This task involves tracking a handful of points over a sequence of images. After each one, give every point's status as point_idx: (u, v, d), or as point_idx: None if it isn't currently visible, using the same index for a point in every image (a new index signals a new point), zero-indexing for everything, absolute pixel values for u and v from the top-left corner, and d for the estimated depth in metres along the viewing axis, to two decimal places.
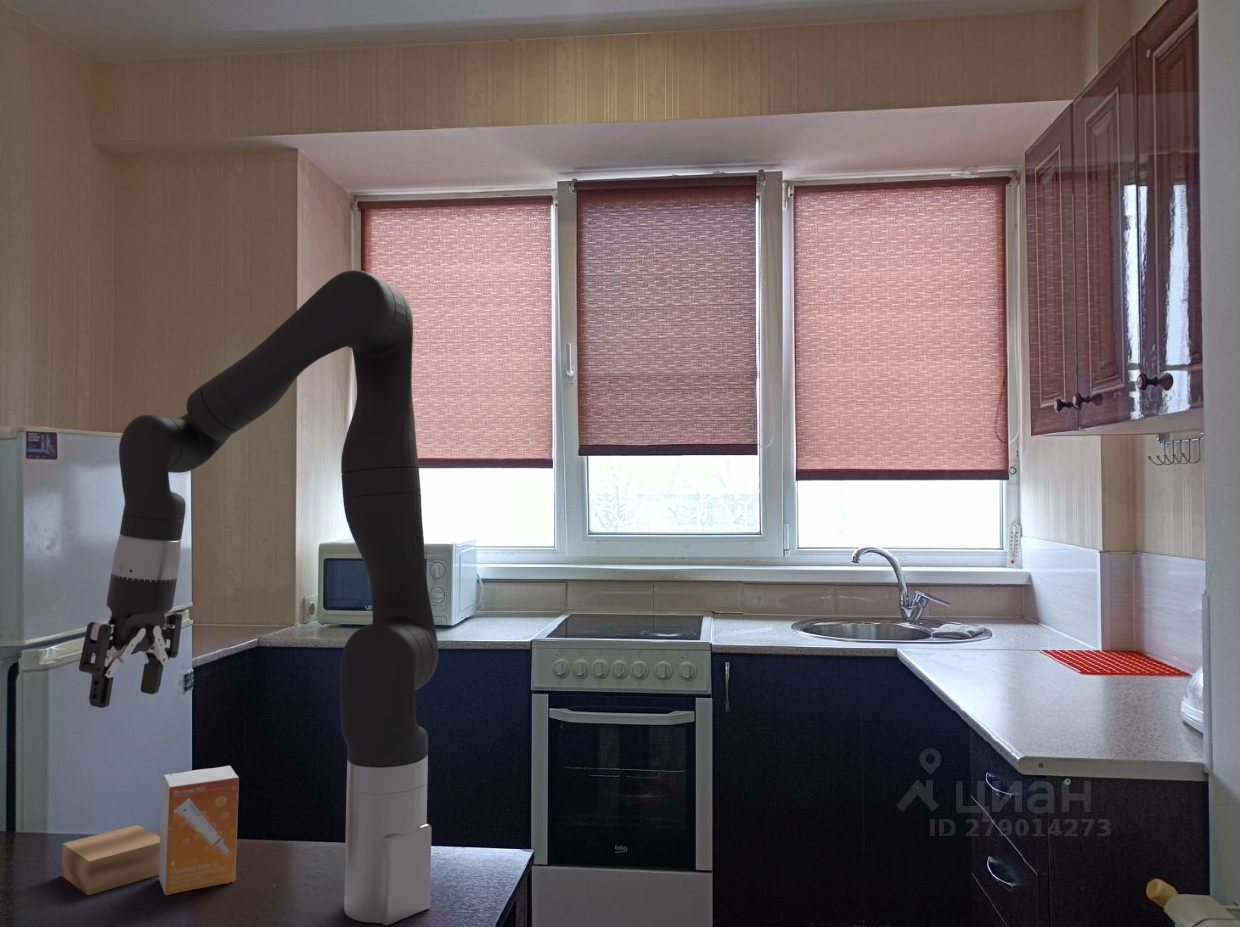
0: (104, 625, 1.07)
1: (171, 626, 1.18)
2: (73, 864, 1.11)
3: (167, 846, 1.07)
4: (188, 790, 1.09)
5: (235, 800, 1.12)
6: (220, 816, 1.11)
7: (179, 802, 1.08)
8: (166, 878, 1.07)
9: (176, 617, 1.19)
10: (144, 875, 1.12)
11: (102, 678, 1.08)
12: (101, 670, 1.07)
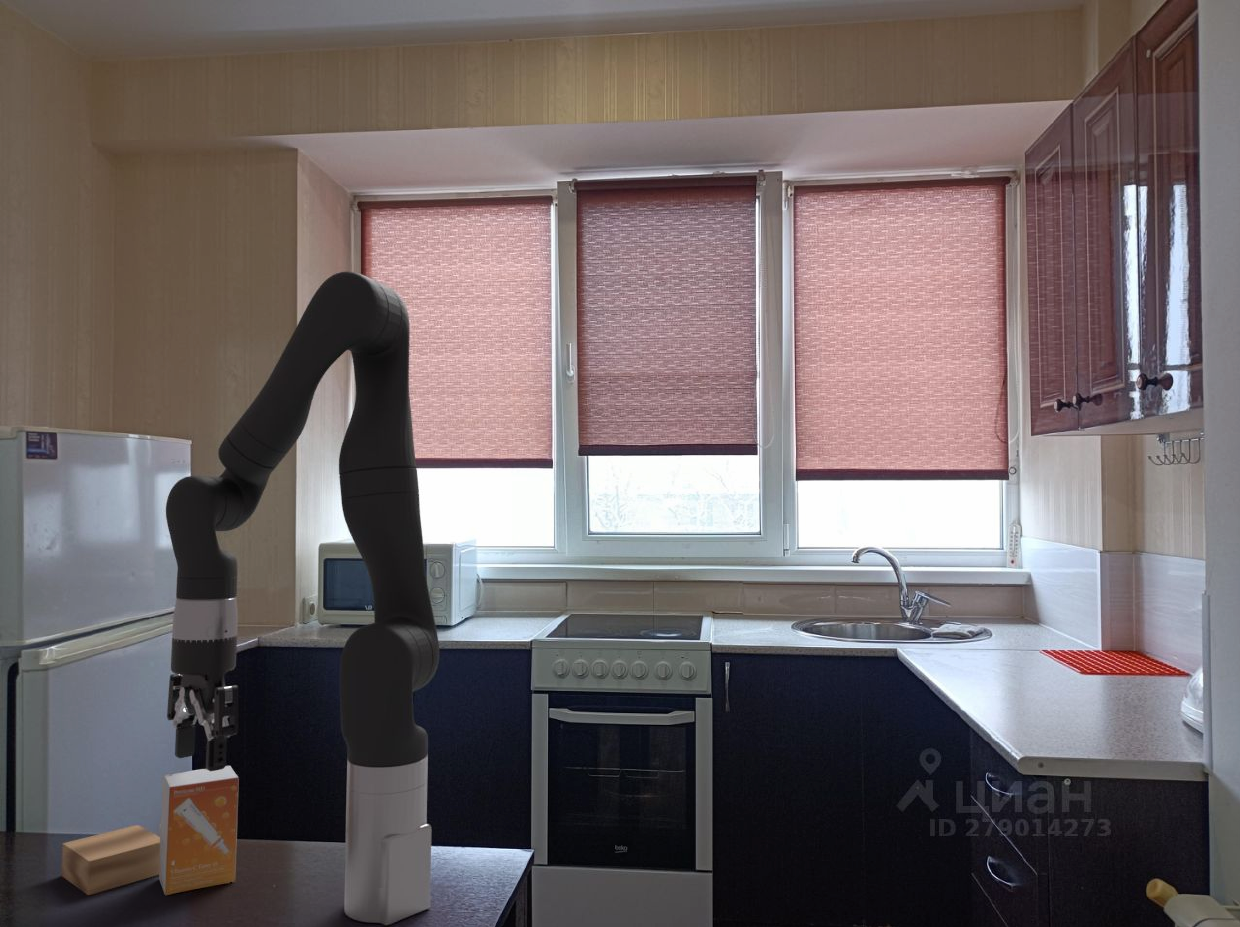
0: (234, 686, 1.10)
1: None
2: (73, 864, 1.11)
3: (167, 846, 1.07)
4: (188, 790, 1.09)
5: (235, 800, 1.12)
6: (220, 816, 1.11)
7: (179, 802, 1.08)
8: (166, 878, 1.07)
9: None
10: (144, 875, 1.12)
11: (226, 739, 1.10)
12: None
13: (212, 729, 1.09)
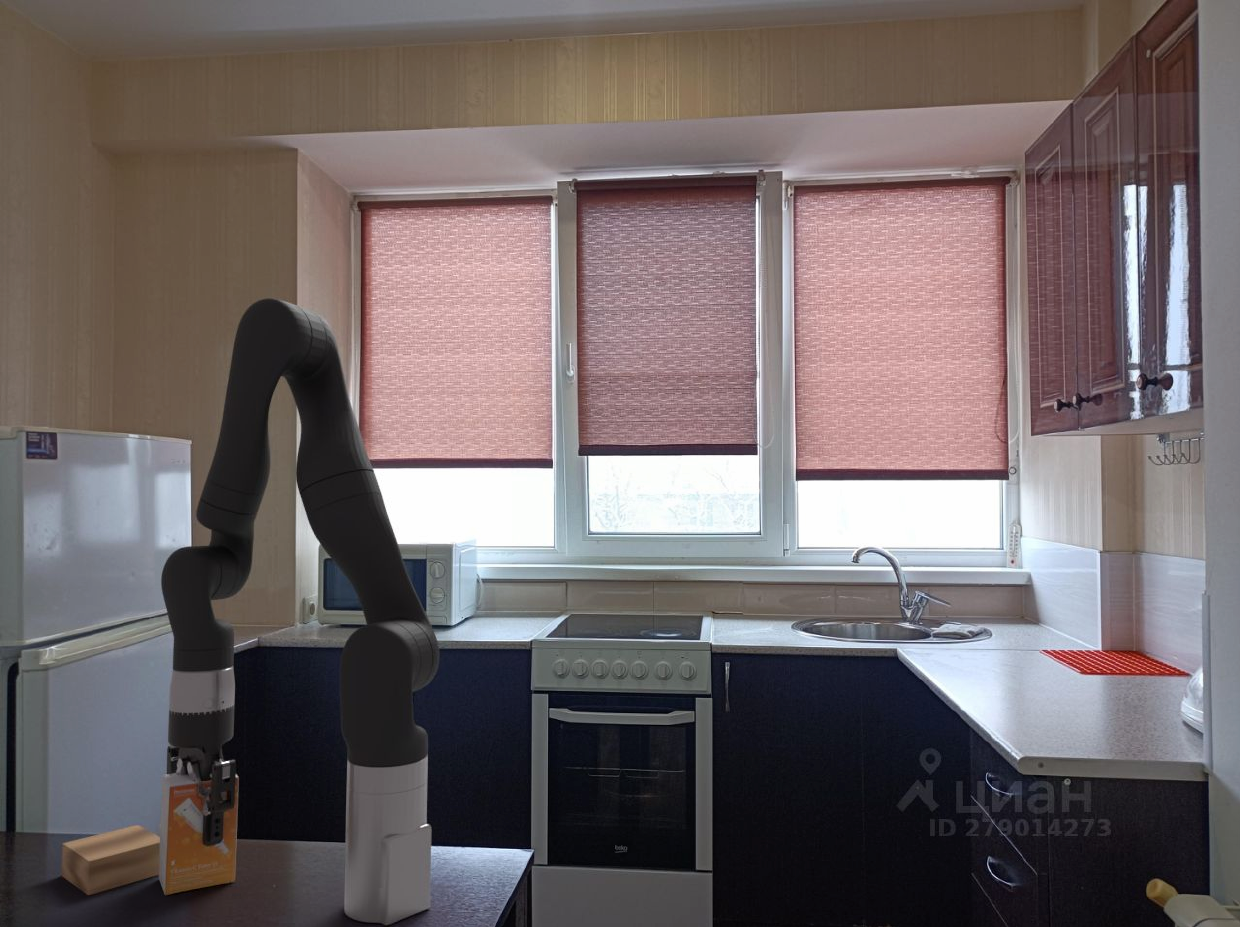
0: (232, 761, 1.09)
1: None
2: (73, 864, 1.11)
3: (167, 846, 1.07)
4: (188, 789, 1.09)
5: (235, 800, 1.12)
6: None
7: (179, 802, 1.08)
8: (166, 878, 1.07)
9: None
10: (144, 875, 1.12)
11: (222, 813, 1.10)
12: None
13: (209, 804, 1.09)
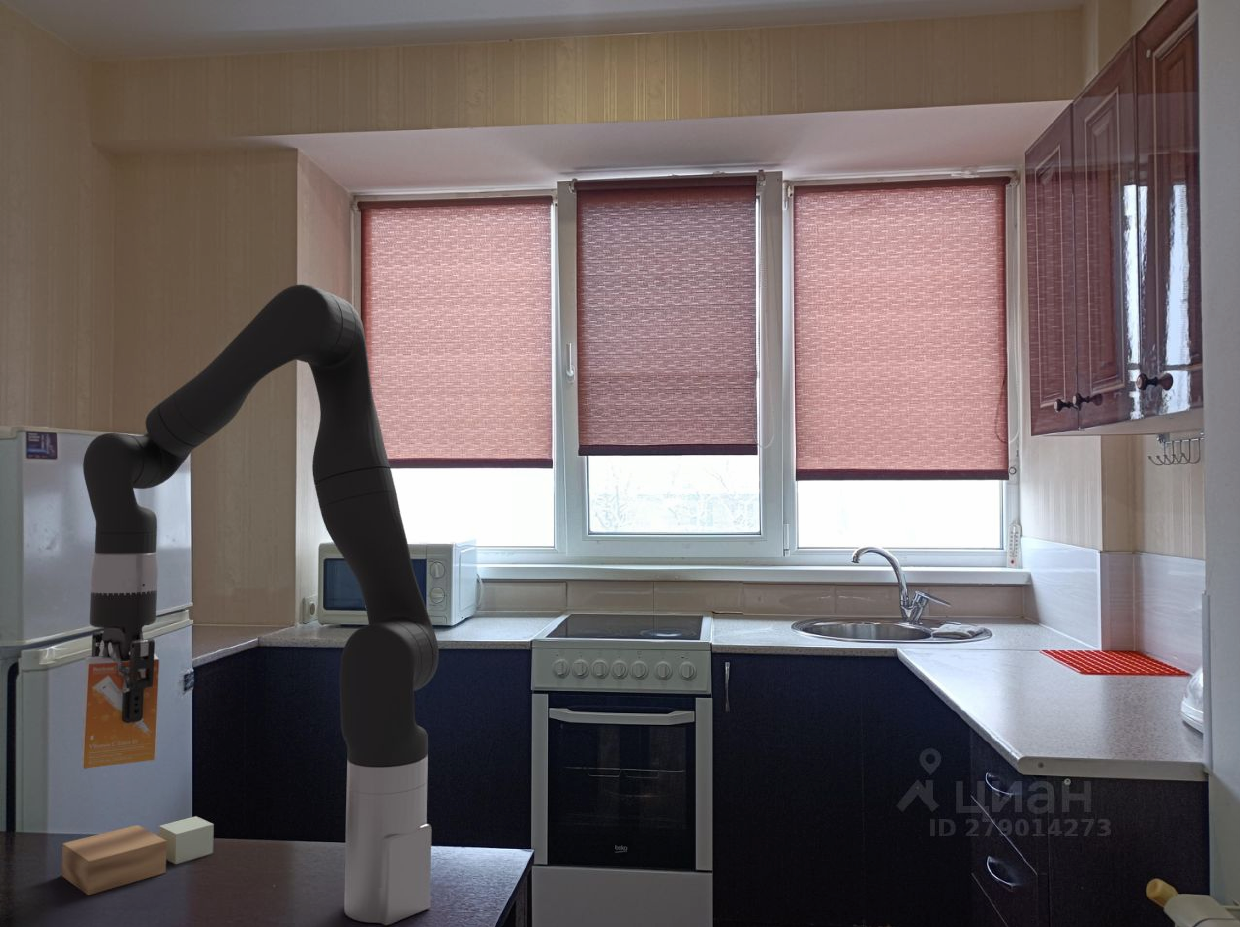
0: (150, 640, 1.12)
1: None
2: (73, 864, 1.11)
3: (86, 721, 1.10)
4: (107, 668, 1.11)
5: (155, 681, 1.14)
6: None
7: (98, 679, 1.11)
8: (85, 752, 1.10)
9: None
10: (144, 875, 1.12)
11: (142, 691, 1.12)
12: None
13: (128, 682, 1.11)
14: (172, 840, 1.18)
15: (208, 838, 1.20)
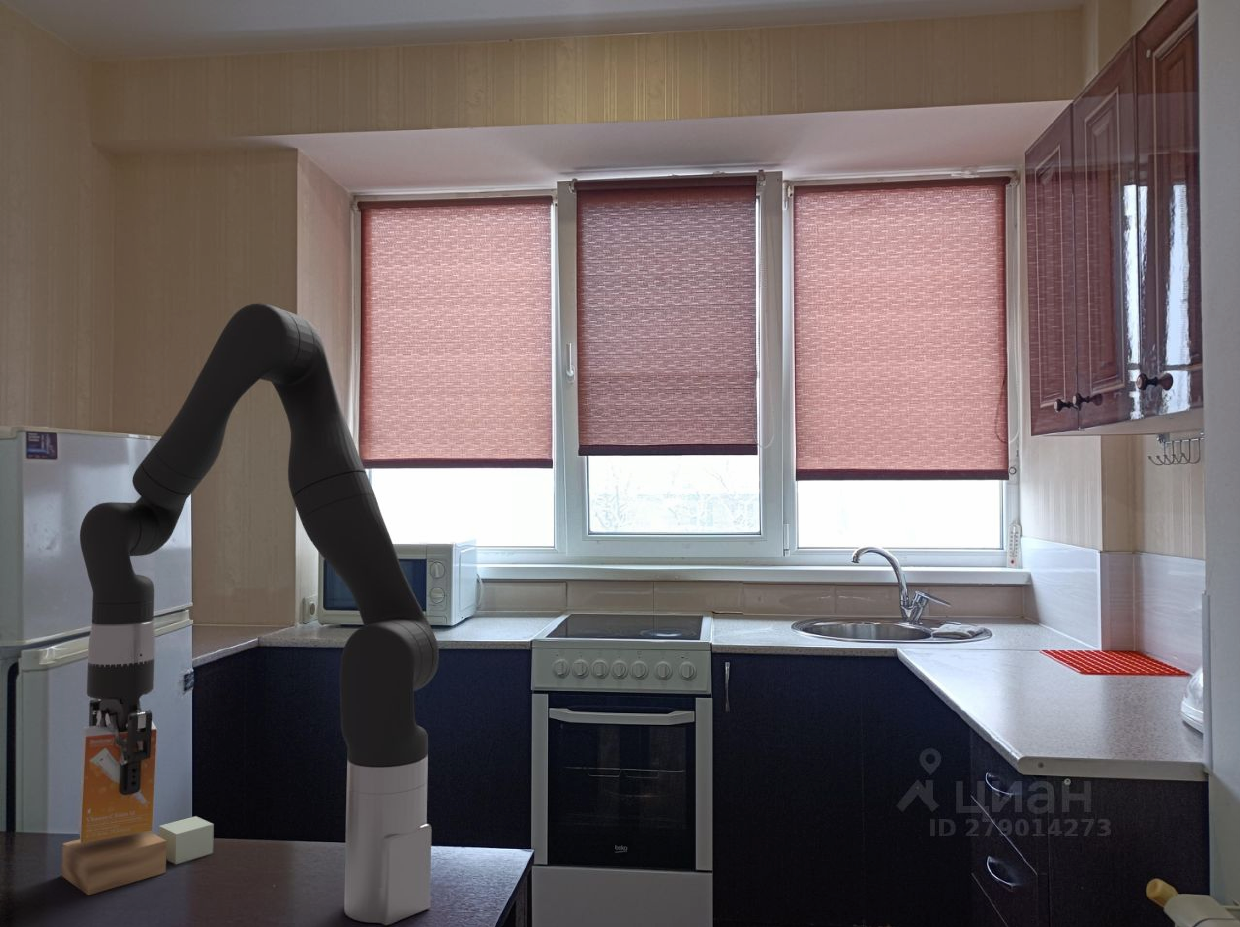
0: (148, 711, 1.11)
1: None
2: (73, 864, 1.11)
3: (83, 794, 1.10)
4: (105, 740, 1.11)
5: (153, 751, 1.14)
6: None
7: (95, 752, 1.10)
8: (82, 826, 1.09)
9: None
10: (144, 875, 1.12)
11: (139, 763, 1.12)
12: None
13: (125, 754, 1.11)
14: (172, 840, 1.18)
15: (208, 838, 1.20)
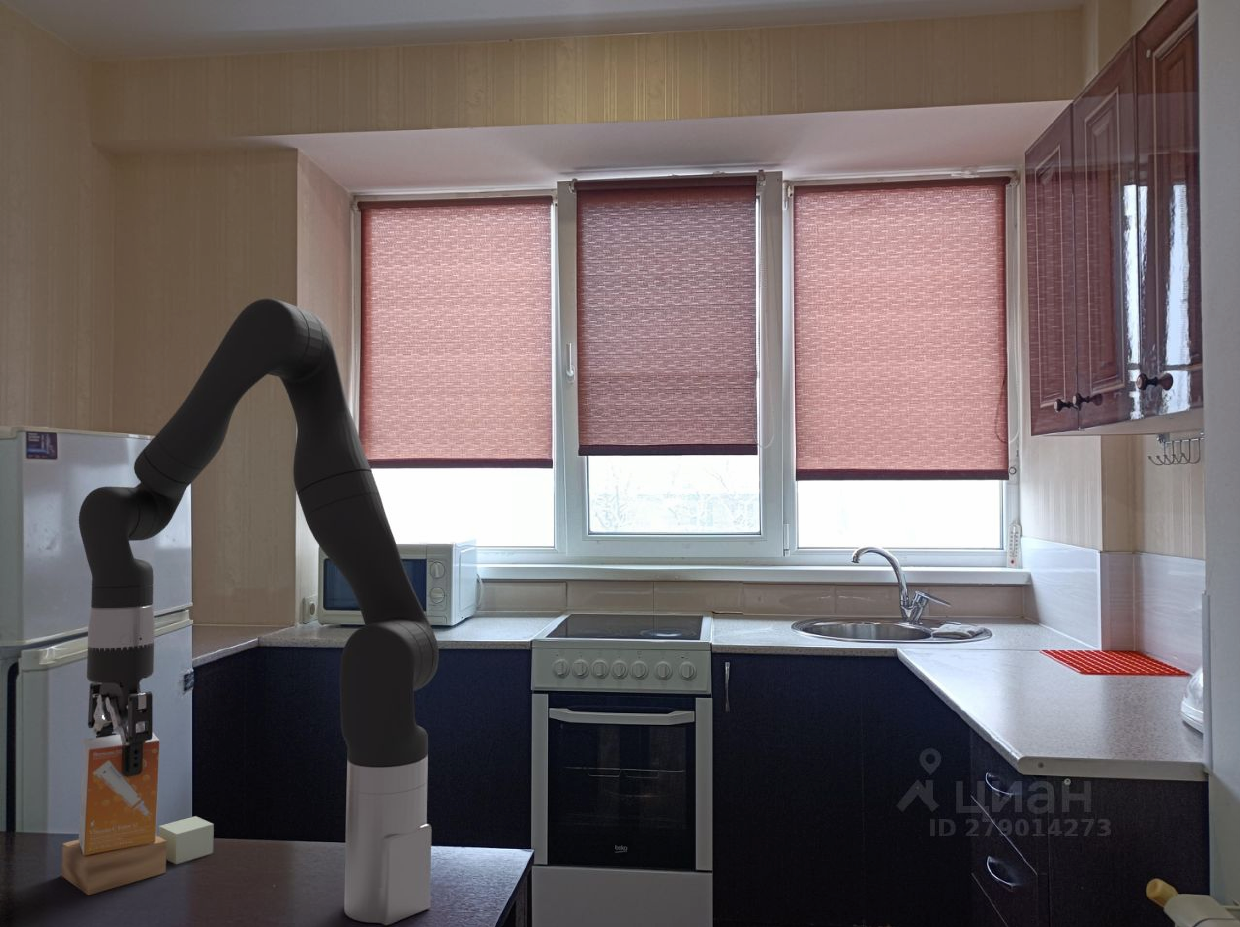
0: (148, 692, 1.11)
1: None
2: (73, 864, 1.11)
3: (86, 807, 1.09)
4: (108, 752, 1.11)
5: (156, 763, 1.14)
6: (140, 778, 1.13)
7: (98, 764, 1.10)
8: (85, 839, 1.09)
9: None
10: (144, 875, 1.12)
11: (141, 744, 1.12)
12: None
13: (127, 735, 1.11)
14: (172, 840, 1.18)
15: (208, 838, 1.20)
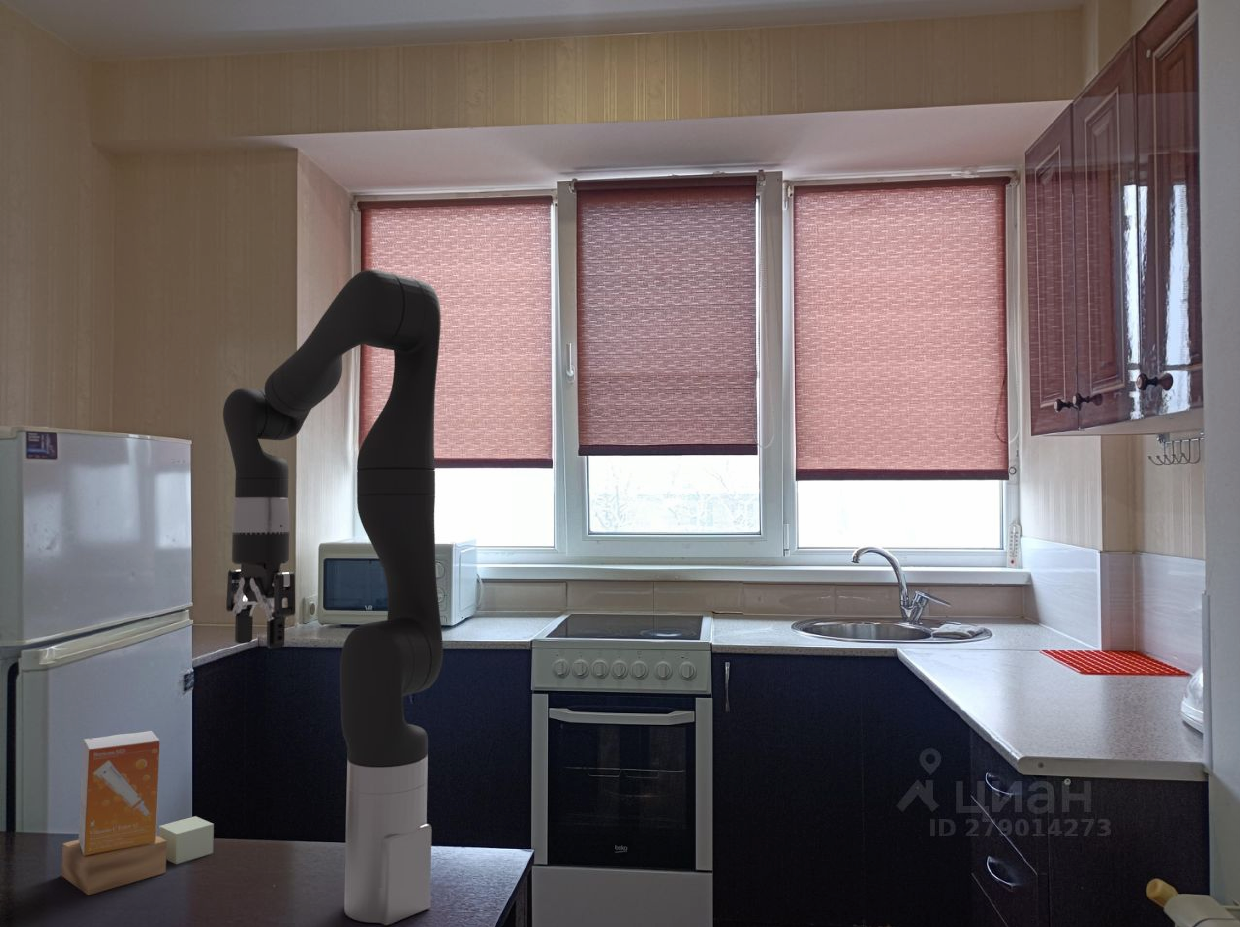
0: (290, 572, 1.23)
1: None
2: (73, 864, 1.11)
3: (86, 807, 1.09)
4: (108, 752, 1.11)
5: (156, 763, 1.14)
6: (141, 778, 1.13)
7: (98, 764, 1.10)
8: (85, 839, 1.09)
9: None
10: (144, 875, 1.12)
11: (284, 620, 1.23)
12: None
13: (272, 611, 1.22)
14: (173, 840, 1.18)
15: (208, 838, 1.20)
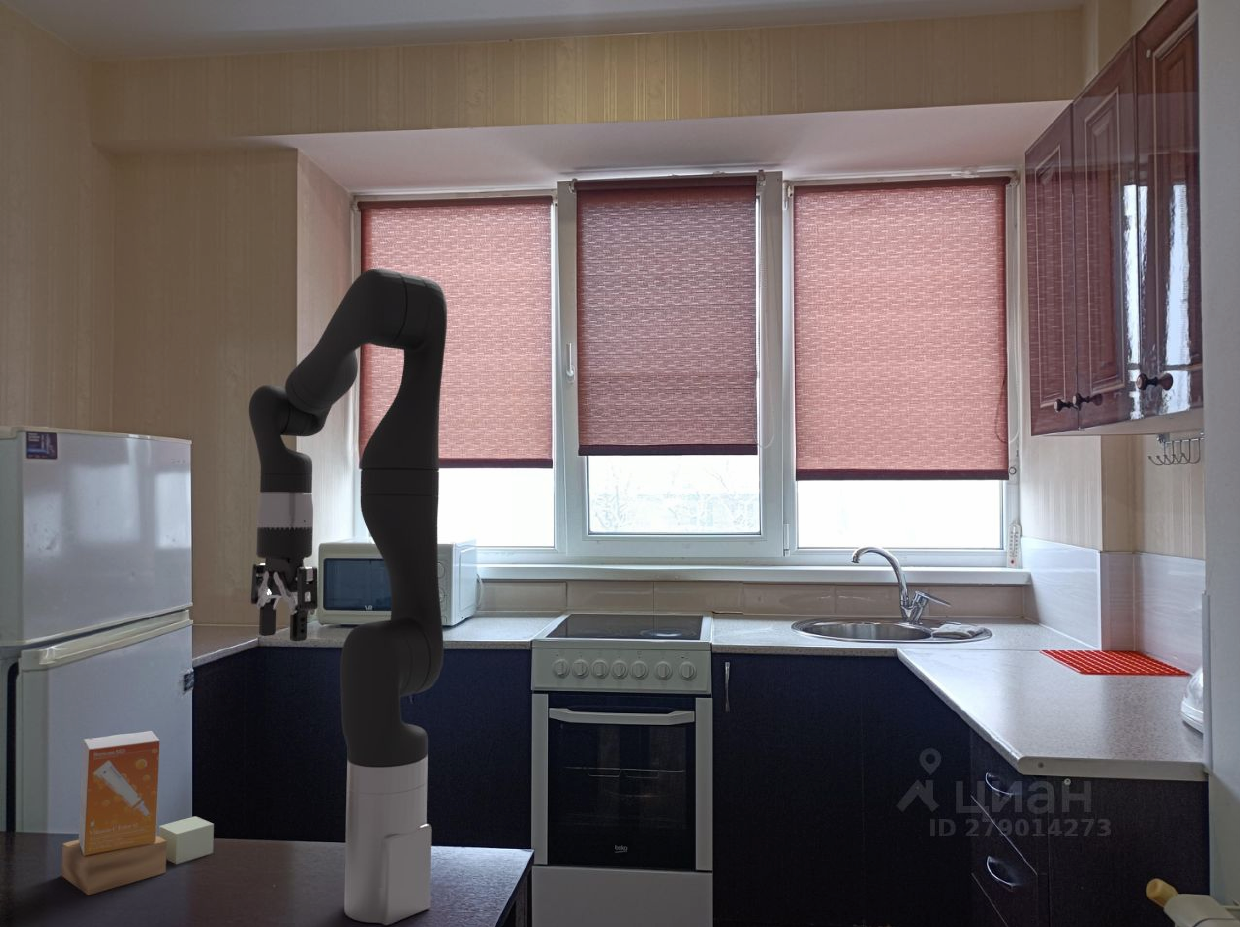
0: (313, 567, 1.25)
1: None
2: (73, 864, 1.11)
3: (86, 807, 1.09)
4: (108, 752, 1.11)
5: (156, 763, 1.14)
6: (141, 778, 1.13)
7: (98, 764, 1.10)
8: (85, 839, 1.09)
9: None
10: (144, 875, 1.12)
11: (307, 613, 1.25)
12: None
13: (295, 604, 1.24)
14: (173, 840, 1.18)
15: (208, 838, 1.21)
